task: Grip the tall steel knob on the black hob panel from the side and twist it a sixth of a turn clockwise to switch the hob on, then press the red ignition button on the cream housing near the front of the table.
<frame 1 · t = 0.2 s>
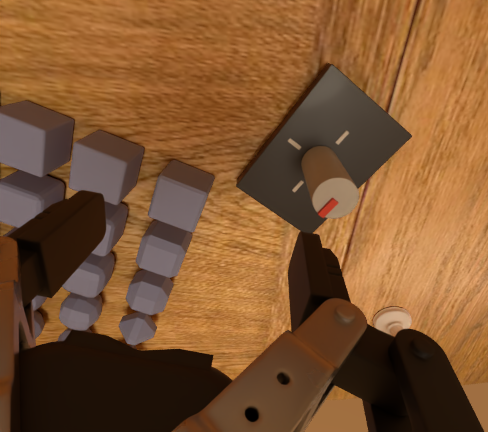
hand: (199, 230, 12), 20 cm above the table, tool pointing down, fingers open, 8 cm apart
blocks: (44, 238, 39), on the table
hob panel: (315, 156, 31), on the table
knob: (326, 179, 26), point 6 cm above the table, hinge at 0.0°
chess piece: (390, 318, 42), on the table
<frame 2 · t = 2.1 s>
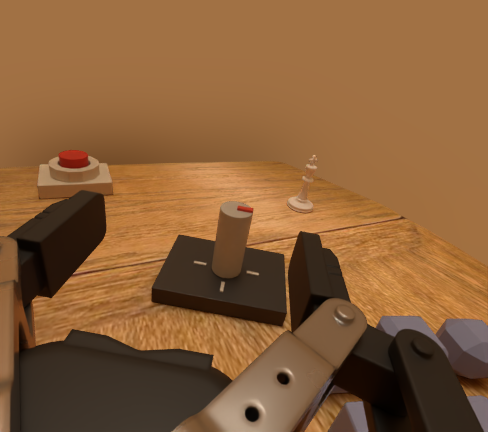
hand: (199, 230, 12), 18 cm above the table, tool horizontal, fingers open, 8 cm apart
ignition button: (74, 159, 48), point 4 cm above the table, slide at 0.1 cm
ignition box: (77, 185, 50), on the table
hob panel: (223, 281, 36), on the table
knob: (231, 239, 33), point 6 cm above the table, hinge at 0.0°
chess piece: (299, 207, 57), on the table
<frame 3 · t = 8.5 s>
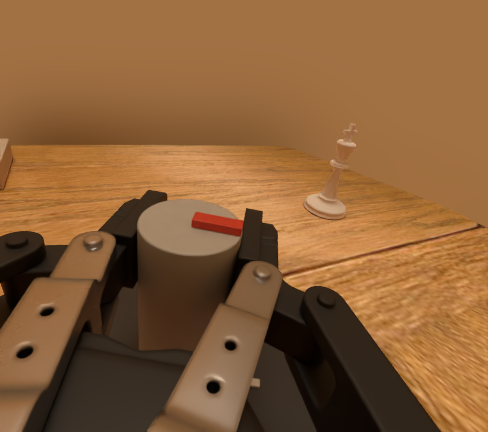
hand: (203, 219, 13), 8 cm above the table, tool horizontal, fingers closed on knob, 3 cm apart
hob panel: (175, 394, 15), on the table
knob: (184, 305, 12), point 6 cm above the table, hinge at -0.3°, touching gripper
chess piece: (323, 210, 36), on the table
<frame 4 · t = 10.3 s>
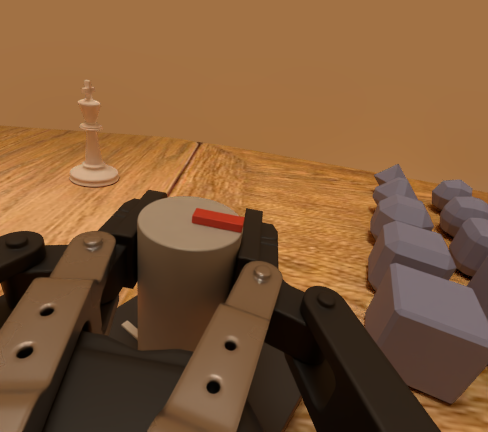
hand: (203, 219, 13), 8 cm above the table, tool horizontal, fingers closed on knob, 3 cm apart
hob panel: (175, 395, 15), on the table
knob: (184, 303, 12), point 6 cm above the table, hinge at -60.9°, touching gripper
chess piece: (95, 179, 34), on the table
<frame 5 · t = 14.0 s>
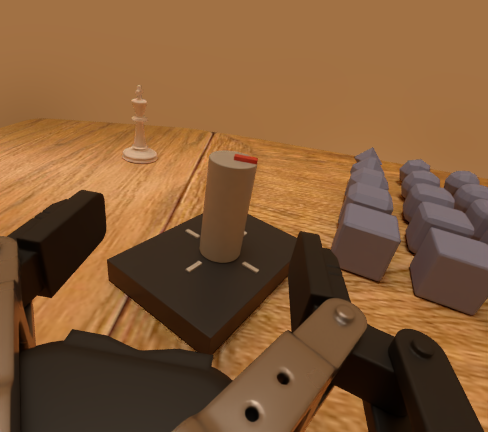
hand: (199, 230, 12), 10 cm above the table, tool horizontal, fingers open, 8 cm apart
blocks: (476, 240, 39), on the table
hob panel: (217, 268, 26), on the table
knob: (226, 206, 23), point 6 cm above the table, hinge at -60.9°
chess piece: (140, 158, 45), on the table
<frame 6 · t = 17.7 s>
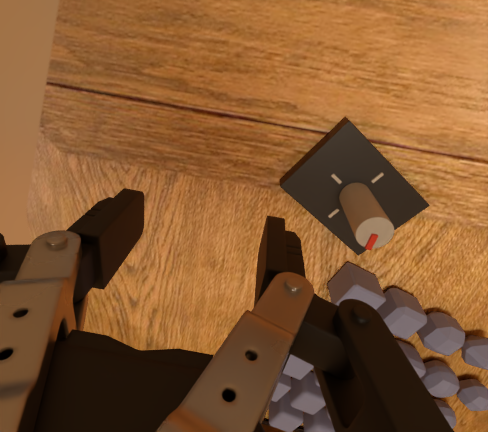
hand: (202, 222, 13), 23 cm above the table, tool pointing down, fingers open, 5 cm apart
blocks: (366, 369, 53), on the table
hob panel: (350, 188, 36), on the table
knob: (363, 213, 31), point 6 cm above the table, hinge at -60.9°
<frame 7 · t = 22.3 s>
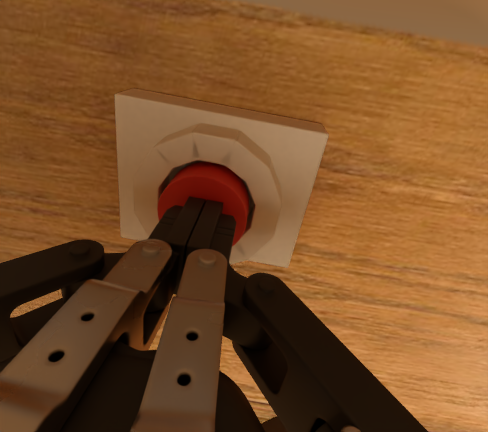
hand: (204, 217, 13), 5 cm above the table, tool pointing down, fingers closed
ignition button: (205, 208, 14), point 4 cm above the table, slide at -0.3 cm, touching gripper
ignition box: (218, 176, 18), on the table
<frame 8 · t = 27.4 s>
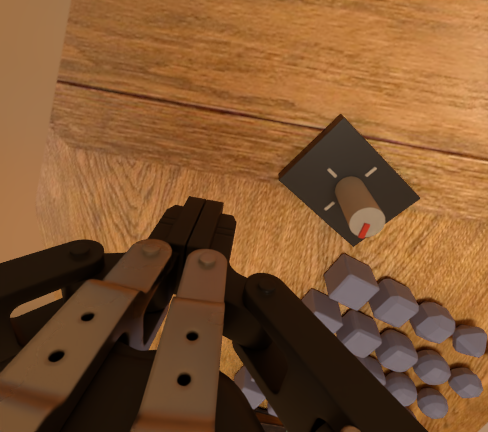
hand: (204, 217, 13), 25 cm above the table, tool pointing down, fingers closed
blocks: (362, 359, 54), on the table
hob panel: (345, 182, 38), on the table
knob: (357, 205, 33), point 6 cm above the table, hinge at -60.9°
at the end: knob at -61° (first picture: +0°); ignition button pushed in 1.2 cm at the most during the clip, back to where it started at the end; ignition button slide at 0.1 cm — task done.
